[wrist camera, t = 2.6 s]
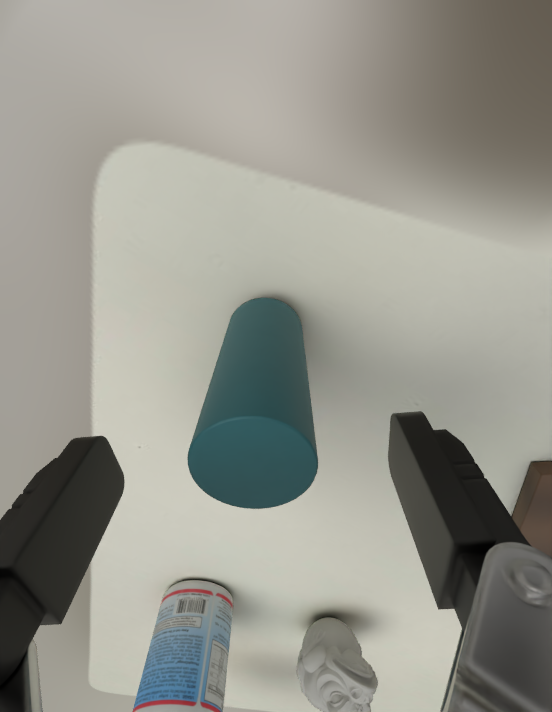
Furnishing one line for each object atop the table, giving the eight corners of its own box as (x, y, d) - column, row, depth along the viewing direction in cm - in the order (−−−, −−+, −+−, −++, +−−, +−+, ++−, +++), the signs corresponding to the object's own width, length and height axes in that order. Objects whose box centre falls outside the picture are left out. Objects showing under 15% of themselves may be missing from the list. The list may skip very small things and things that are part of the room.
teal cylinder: (225, 293, 16) (171, 422, 8) (298, 285, 16) (314, 411, 8) (237, 356, 18) (203, 513, 10) (303, 350, 17) (321, 506, 10)
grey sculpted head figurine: (380, 613, 31) (405, 724, 25) (331, 641, 34) (342, 747, 28) (327, 592, 29) (339, 706, 23) (280, 624, 32) (280, 732, 26)
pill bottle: (154, 601, 30) (94, 811, 21) (180, 569, 28) (125, 792, 18) (216, 619, 32) (188, 822, 22) (247, 589, 29) (229, 806, 19)
